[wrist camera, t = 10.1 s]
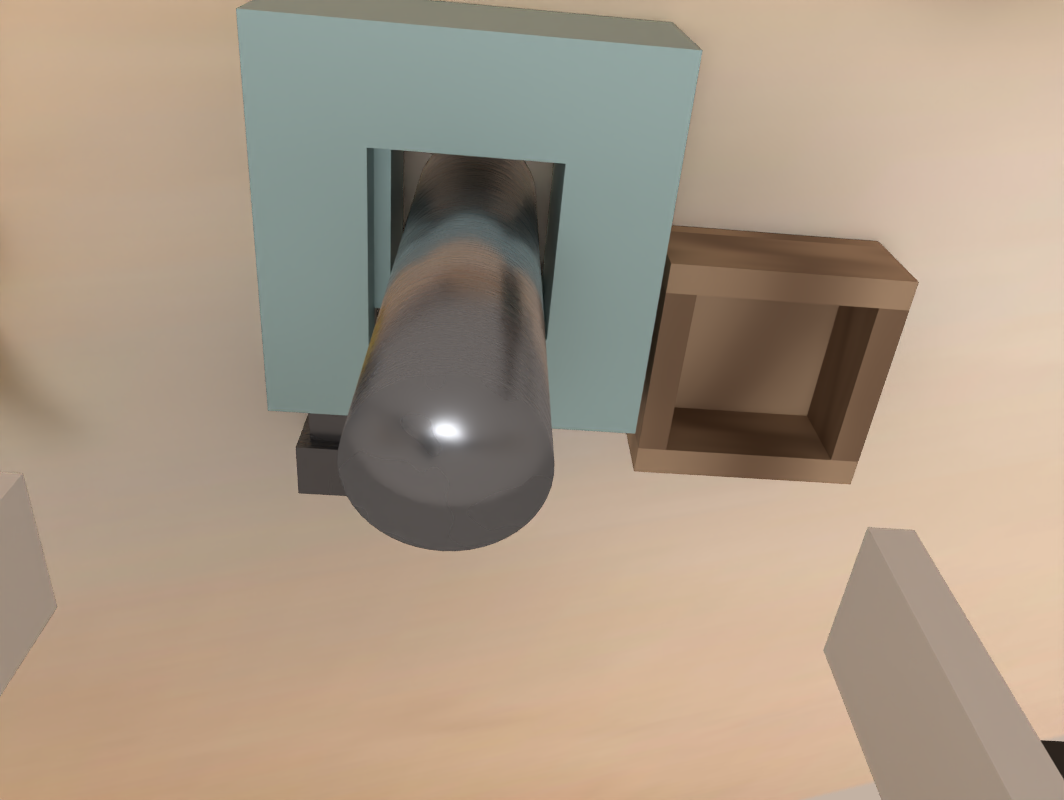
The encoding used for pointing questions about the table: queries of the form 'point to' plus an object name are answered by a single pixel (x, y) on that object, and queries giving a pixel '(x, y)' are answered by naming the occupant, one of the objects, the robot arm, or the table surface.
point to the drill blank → (456, 367)
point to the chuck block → (472, 130)
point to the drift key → (320, 454)
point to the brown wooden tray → (768, 355)
